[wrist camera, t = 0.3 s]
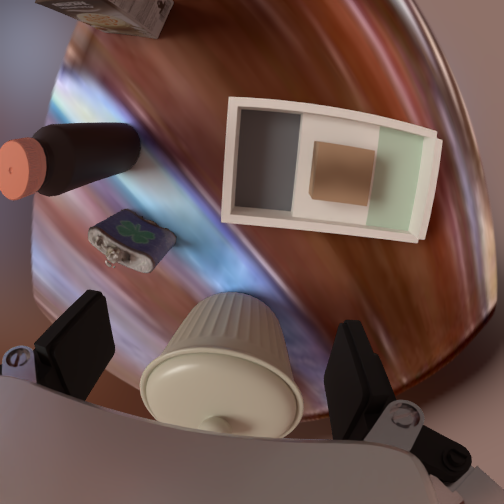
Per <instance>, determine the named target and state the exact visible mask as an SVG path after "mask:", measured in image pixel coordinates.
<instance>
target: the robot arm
mask: <svg viewBox="0 0 504 504" xmlns="http://www.w3.org/2000/svg"><path fill="white" fill-rule="evenodd" d="M34 345H35V349H34V350H32V349H31V348H29V347H27V346H16V347H13V348H12V349H10V350H8V351H7V352H6V353H5V355H4V356H3V360H2V364H1V365H0V504H504V489H502V488H501V487H500V486H499V485H498V484H497V483H496V482H495V481H493V480H492V479H491V478H490V477H489V476H488V475H487V474H486V473H484V472H483V471H482V470H481V469H480V468H479V467H478V466H476V467H475V468H474V467H472V466H471V463H472V460H471V455H470V453H469V451H468V450H467V449H466V448H465V447H464V446H462V445H461V444H459V443H457V442H455V441H453V440H451V439H449V438H447V437H445V436H443V435H441V434H439V433H437V432H436V431H434V430H432V429H430V428H428V427H426V426H424V425H423V423H424V414H423V412H422V410H421V409H420V408H419V407H418V406H417V405H416V404H414V403H412V402H410V401H407V400H396V398H395V395H394V392H393V390H392V387H391V385H390V382H389V380H388V377H387V375H386V372H385V370H384V367H383V365H382V362H381V360H380V358H379V356H378V354H376V353H373V350H372V348H371V345H370V343H369V341H368V338H367V336H366V333H365V331H364V329H363V326H362V324H361V322H360V321H359V320H345V321H344V323H340V324H339V327H338V330H337V334H336V337H335V341H334V344H333V348H332V351H331V355H330V358H329V361H328V365H327V368H326V371H325V374H324V385H325V391H326V397H327V403H328V409H329V416H330V422H331V428H332V435H333V440H313V439H287V438H270V437H256V436H246V435H236V434H228V433H220V432H213V431H207V430H200V429H194V428H188V427H183V426H178V425H173V424H168V423H163V422H158V421H154V420H149V419H146V418H141V417H137V416H134V415H130V414H126V413H122V412H119V411H115V410H112V409H108V408H105V407H102V406H98V405H95V404H92V403H89V402H86V401H85V400H86V398H87V397H88V395H89V393H90V392H91V390H92V388H93V387H94V385H95V384H96V382H97V380H98V379H99V377H100V376H101V374H102V372H103V371H104V369H105V368H106V366H107V365H108V363H109V361H110V360H111V358H112V357H113V355H114V353H115V344H114V340H113V335H112V330H111V325H110V320H109V314H108V308H107V303H106V298H105V296H103V294H102V293H101V292H100V291H94V290H87V291H86V292H85V293H84V294H83V295H82V296H81V297H80V298H79V299H78V300H76V301H75V302H74V303H73V304H72V305H71V306H70V307H69V308H68V309H67V310H66V311H65V312H64V313H63V314H62V315H61V316H60V317H59V318H58V319H57V320H56V321H55V322H54V323H53V324H52V325H51V326H50V327H49V328H48V329H47V330H46V331H45V333H43V335H42V336H41V337H40V338H39V339H38V340H37V341H36V342H35V343H34Z"/></svg>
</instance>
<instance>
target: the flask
mask: <svg viewBox="0 0 504 504" xmlns="http://www.w3.org/2000/svg"><path fill="white" fill-rule="evenodd" d="M88 239H89V241H90V243H91V244H92V245H93V246H94V247H96V248H97V249H98V250H99V251H100V252H102V253H103V254H104V255H106V256H107V257H106V258H107V259H108V260H109V261H110V262H111V263H116V262H117V263H119V264H122V265H124V266H126V267H128V268H131V269H134V270H136V271H139V272H143V273H150V272H152V271H153V269H154V268H155V267H156V266H157V264H158V263H159V262H160V261H161V260H162V258H163V257H164V256H165V255H166V254H167V252H168V251H169V250H170V249H171V248H172V247H173V246H174V244H175V242H176V236H175V235H174V233H172V232H171V231H170V230H169V229H167V228H162V227H160V226H159V225H157V224H156V223H154V221H151V220H144V219H143V216H142V217H140V216H138V215H137V214H136V213H134V212H132V211H131V210H129V209H123V210H121V211H120V212H118V213H116V214H115V215H113V216H110V217H109V218H107V219H106V220H104V221H102V222H100V223H98V224H96V225H95V226H93V227H90V228H89V232H88ZM105 263H106V265H107V266H109V267H111V264H110V263H109V262H107V260H106V261H105ZM113 268H115V266H113Z"/></svg>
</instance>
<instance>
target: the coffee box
mask: <svg viewBox="0 0 504 504" xmlns="http://www.w3.org/2000/svg"><path fill="white" fill-rule="evenodd" d="M35 3H37V4H40V5H43V6H45V7H48V8H50V9H53V10H55V11H58V12H60V13H63V14H65V15H68V16H70V17H72V18H74V19H77V20H79V21H81V22H83V23H86V24H88V25H90V26H92V27H94V28H96V29H98V30H101V31H103V32H106V33H116V34H126V35H134V36H141V37H148V38H154V39H157V38H158V37H159V34H160V32H161V30H162V27H163V25H164V23H165V21H166V18H167V16H168V14H169V12H170V10H171V7H172V5H173V3H174V2H173V0H36V1H35Z"/></svg>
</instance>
